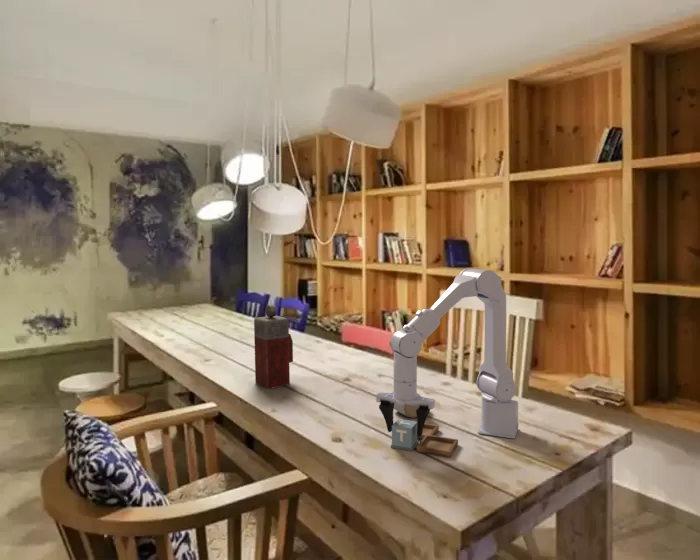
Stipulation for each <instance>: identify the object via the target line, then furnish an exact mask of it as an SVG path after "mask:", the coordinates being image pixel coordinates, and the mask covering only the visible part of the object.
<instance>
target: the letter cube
mask: <svg viewBox="0 0 700 560" xmlns="http://www.w3.org/2000/svg"><path fill="white" fill-rule="evenodd" d="M416 442H417V420H416V421H415V420H408V419H401V418H398V419H397V420H396V421H395V422H393V425H392V431H391V445H394V446H400V447H406V448H412V447H413V446H414V444H415V443H416Z"/></svg>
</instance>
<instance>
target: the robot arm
mask: <svg viewBox="0 0 700 560" xmlns="http://www.w3.org/2000/svg"><path fill="white" fill-rule="evenodd" d="M470 297H476V298H478V299H479V300H480V301H481V302H482V303H483V304H484V362H483V363H481V364H480V366H479V369H478V370H479V373H478V375H477V378H476V382H475V383H476V388H477V389H478V390H479V391H480V396H481V414H480V417H481V418H480V421H481V422H480V425H479V427H478V430H477V434H481V435H485V436H492V437H493V436H495V437H499V438H507V439H515V438H516V436H517V433H518V430H519V401H518V400H514V399H513V398H514V397H515V394H516V391H517V385H516V382H515V380H514V372H513V370H512V369H511V368H510V366H509V365H508V363H507V295H506V292H505V290H504V288H503V285H502V277H501V276H500V275H498V273H496V272H495V271H493V270H491V269H479V268H473V267H467V268H465V269H463V270H461V272H460V273H459V274H457V275H456V276H455V277H454V280H453V282H452V283H451V285H450V286H449V287H448V288H447V289H446V290H445V292H443V293H442V295H441V296H440V297H439V298H438V299H437V300H436V301H435V302H434V304H432V306H431V307H430V308H423V309H422V310H417V311H416V312H415V317H414V318H412V319H411V320H410V321H409V322H408V323H407V324H404V326H403V327H402V329H400V330H397V331H396V332H395V333H393V334H392V336H391V339H390V341H388V343H389V347H390V349H391V350H392V352H393V391H394V393H393V392H380V391H379V392H378V393H376V395H375V396H376V397H375V398H376V403H379V405H378V409H379V410H380V413H381V414H382V416H383V418H384V421H385V423H386V428H387V432H388V433H392V425H393V424H394V410H395V409H394V403H396V404H402V405H411V406H419V408H418V409H417V410H416V414H417V417H416V419H417V420H416V422H417V436H419V437H420V436H421V435H422V432H423V427H424V423H426V421H427V418H428V415H429V413H430V411H431V410H433V409H434V408H435V403H436V402H435V398H430V397H429V398H428V397H425V396H422V395H420V396H418V395H417V393H418V390H417V389H418V387H417V386H418V385H417V384H418V377H417V376H418V368H417V366H418V359H417V357H418V354H419V353H420V352H421V351H422V347H423V343H425V341H426V340H427V339H428V338H429V337H430V335H432V333H434V331H436V330H437V329H438V327H440V326H441V325H440V324H441V318H442V317H443V316H444V315H445V314H447V313H448V311H450V310H451V309H452V308H453V307H455V306H456V305H457V303H459V302H461V300H462V299H465V298H470Z"/></svg>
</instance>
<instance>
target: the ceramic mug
mask: <svg viewBox="0 0 700 560" xmlns="http://www.w3.org/2000/svg"><path fill="white" fill-rule="evenodd" d="M392 393H394V390H392ZM417 395H418V396H421V395H420V394H419V393H418V392H417ZM418 408H419V406H411V405H402V404H396V403H394V410H395V411H397V412H398V413H401V414H402V415H404V416H405V417H408V418H411V419H413V418H417V414H416V410H417V409H418Z"/></svg>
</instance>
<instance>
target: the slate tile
mask: <svg viewBox="0 0 700 560" xmlns="http://www.w3.org/2000/svg"><path fill="white" fill-rule="evenodd" d="M419 443H420V440H417V442H416V443H415V444H414V446H413V447H412V448H406V447H400V446H394V445H392V444H391V445H390V448H391V449H397V450H403V451H408V452H413V451H414V450H415V448H417V446H418V444H419Z"/></svg>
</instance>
